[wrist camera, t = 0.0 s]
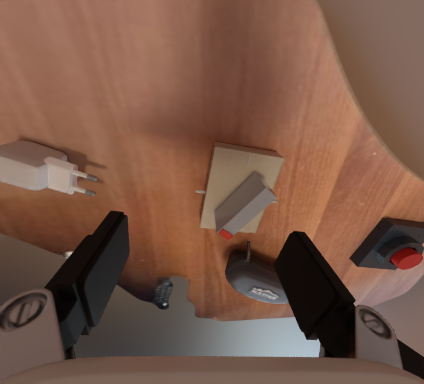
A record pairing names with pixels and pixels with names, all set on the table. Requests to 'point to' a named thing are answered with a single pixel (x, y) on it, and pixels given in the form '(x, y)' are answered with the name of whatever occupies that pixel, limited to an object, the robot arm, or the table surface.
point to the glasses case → (254, 277)
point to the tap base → (235, 178)
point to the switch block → (389, 243)
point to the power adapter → (39, 168)
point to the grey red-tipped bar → (243, 206)
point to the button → (406, 258)
